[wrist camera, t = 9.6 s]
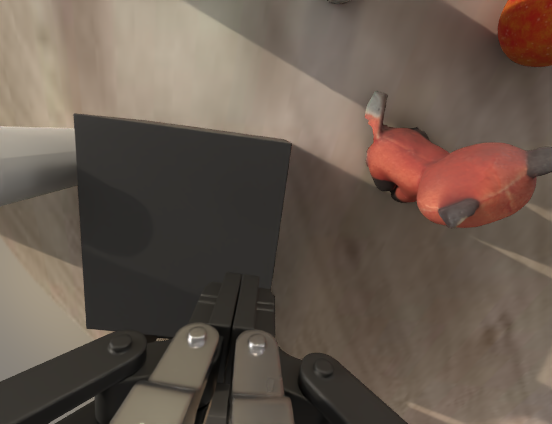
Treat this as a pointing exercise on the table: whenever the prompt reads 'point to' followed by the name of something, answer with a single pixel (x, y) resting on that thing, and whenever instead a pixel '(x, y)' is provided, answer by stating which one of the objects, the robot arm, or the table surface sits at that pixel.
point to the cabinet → (171, 216)
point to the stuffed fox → (451, 173)
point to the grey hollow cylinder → (338, 1)
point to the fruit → (527, 32)
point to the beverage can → (36, 162)
